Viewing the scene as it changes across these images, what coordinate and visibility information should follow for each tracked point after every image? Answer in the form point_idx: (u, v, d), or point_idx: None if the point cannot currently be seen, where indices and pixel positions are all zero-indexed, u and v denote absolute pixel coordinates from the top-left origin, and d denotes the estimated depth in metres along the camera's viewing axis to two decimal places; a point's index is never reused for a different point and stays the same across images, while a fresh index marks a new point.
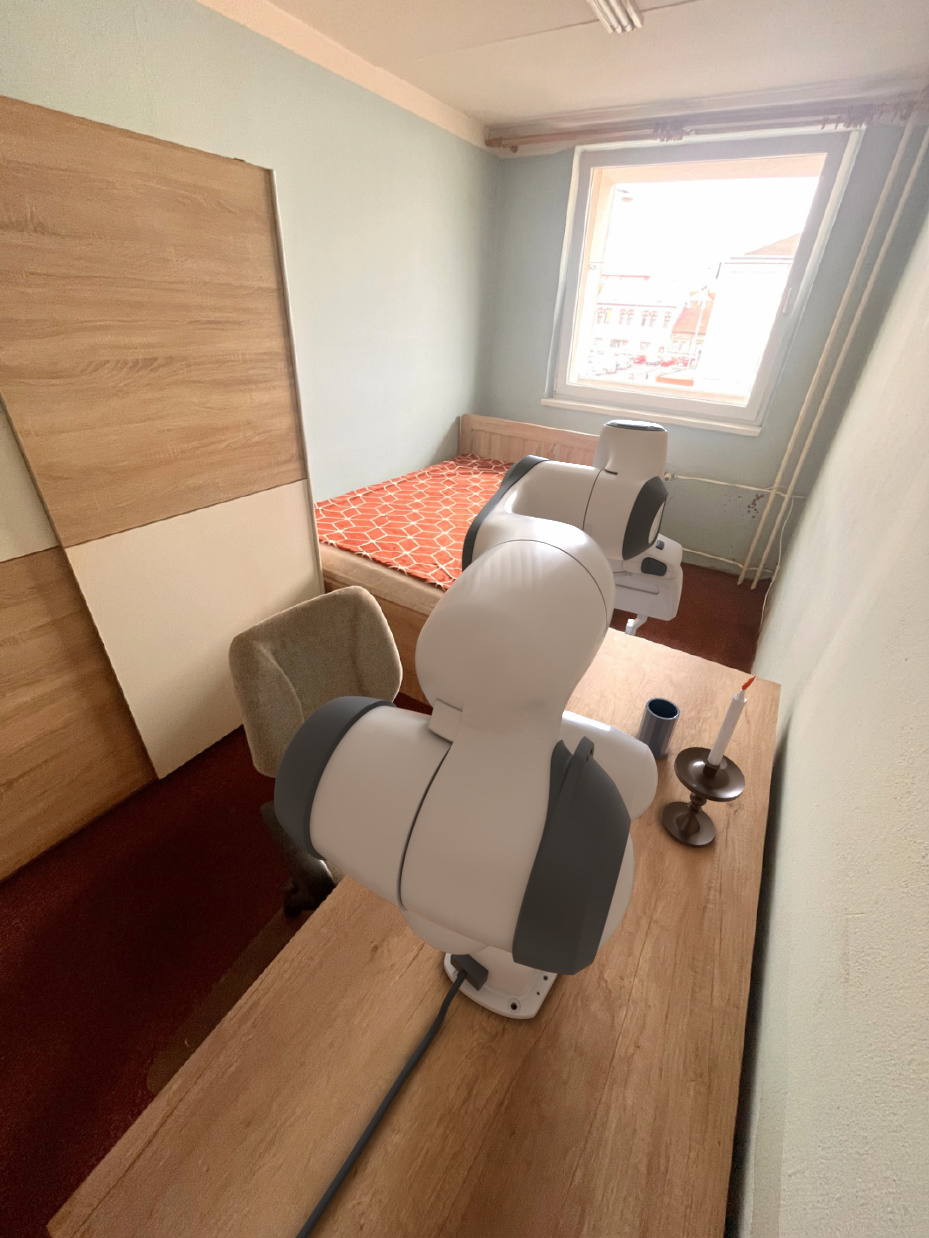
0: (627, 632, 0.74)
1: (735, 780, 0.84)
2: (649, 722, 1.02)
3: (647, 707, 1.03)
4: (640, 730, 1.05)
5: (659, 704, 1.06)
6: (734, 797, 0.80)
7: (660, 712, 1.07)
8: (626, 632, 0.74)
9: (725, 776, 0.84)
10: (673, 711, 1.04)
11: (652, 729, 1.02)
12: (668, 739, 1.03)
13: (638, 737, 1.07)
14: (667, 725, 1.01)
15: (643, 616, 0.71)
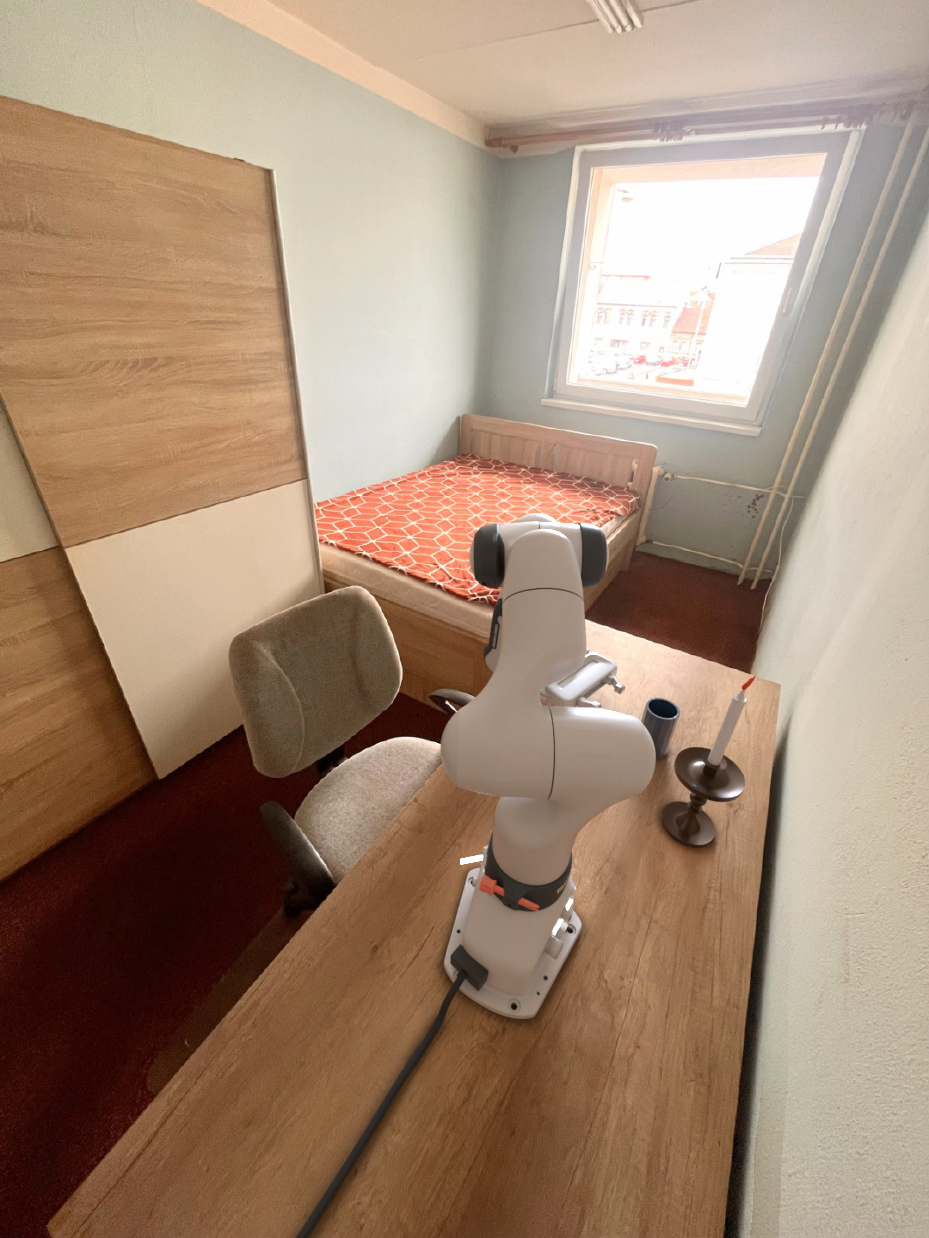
0: (620, 686, 1.14)
1: (735, 780, 0.83)
2: (649, 722, 1.02)
3: (647, 707, 1.03)
4: None
5: (659, 704, 1.06)
6: (734, 797, 0.80)
7: (660, 712, 1.07)
8: (620, 687, 1.14)
9: (725, 776, 0.84)
10: (673, 711, 1.04)
11: (652, 729, 1.02)
12: (668, 739, 1.03)
13: None
14: (667, 725, 1.01)
15: (611, 675, 1.17)
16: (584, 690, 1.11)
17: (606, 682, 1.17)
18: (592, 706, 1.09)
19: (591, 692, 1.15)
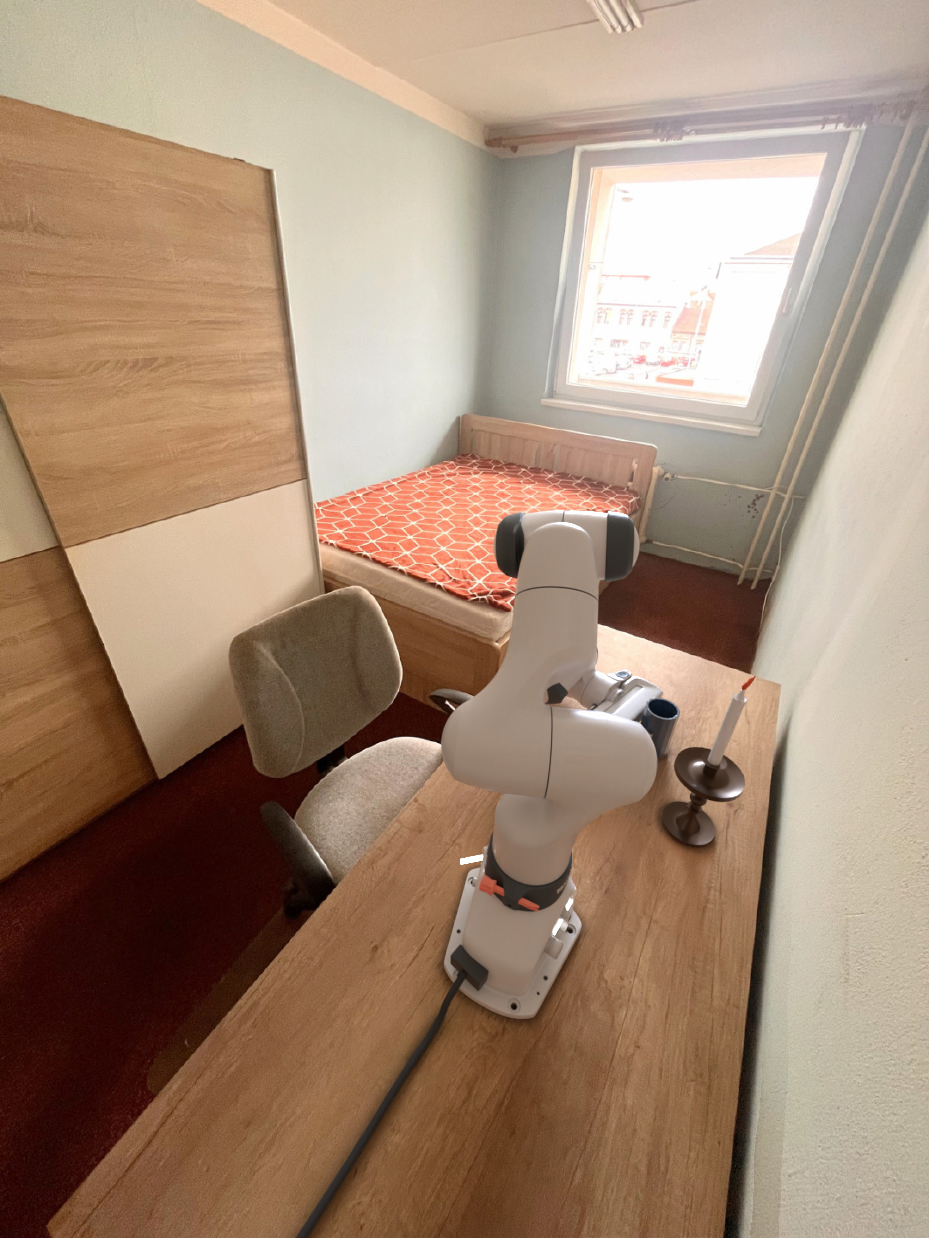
0: None
1: (735, 780, 0.83)
2: (649, 722, 1.02)
3: (647, 707, 1.03)
4: None
5: (659, 704, 1.06)
6: (734, 797, 0.80)
7: (660, 712, 1.07)
8: None
9: (725, 776, 0.84)
10: (672, 711, 1.04)
11: (652, 729, 1.02)
12: (668, 739, 1.03)
13: None
14: (667, 725, 1.01)
15: None
16: (632, 719, 1.04)
17: None
18: None
19: (638, 720, 1.08)
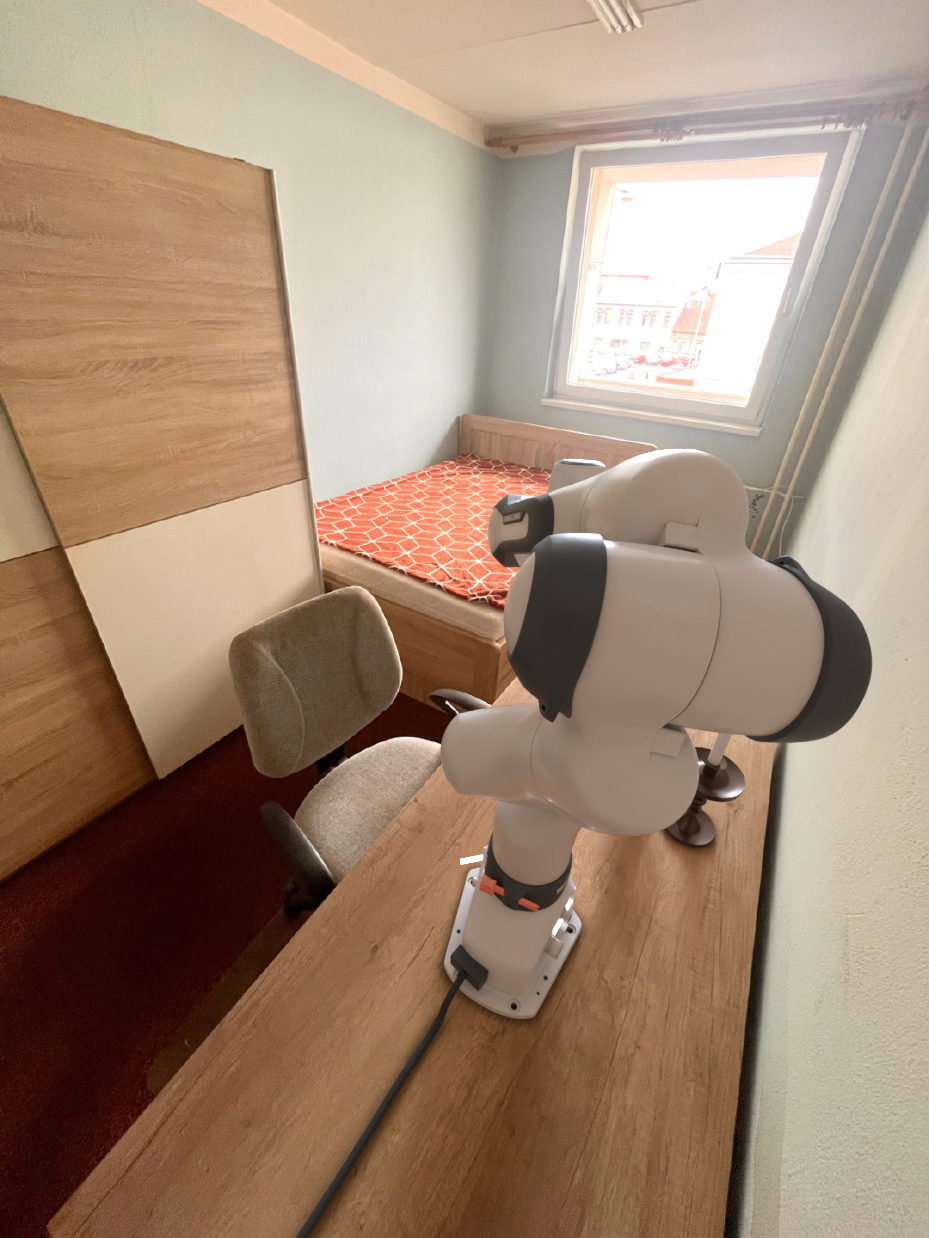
0: None
1: (735, 780, 0.83)
2: None
3: None
4: None
5: None
6: (734, 797, 0.80)
7: None
8: None
9: (725, 776, 0.84)
10: None
11: None
12: None
13: None
14: None
15: None
16: None
17: None
18: None
19: None
